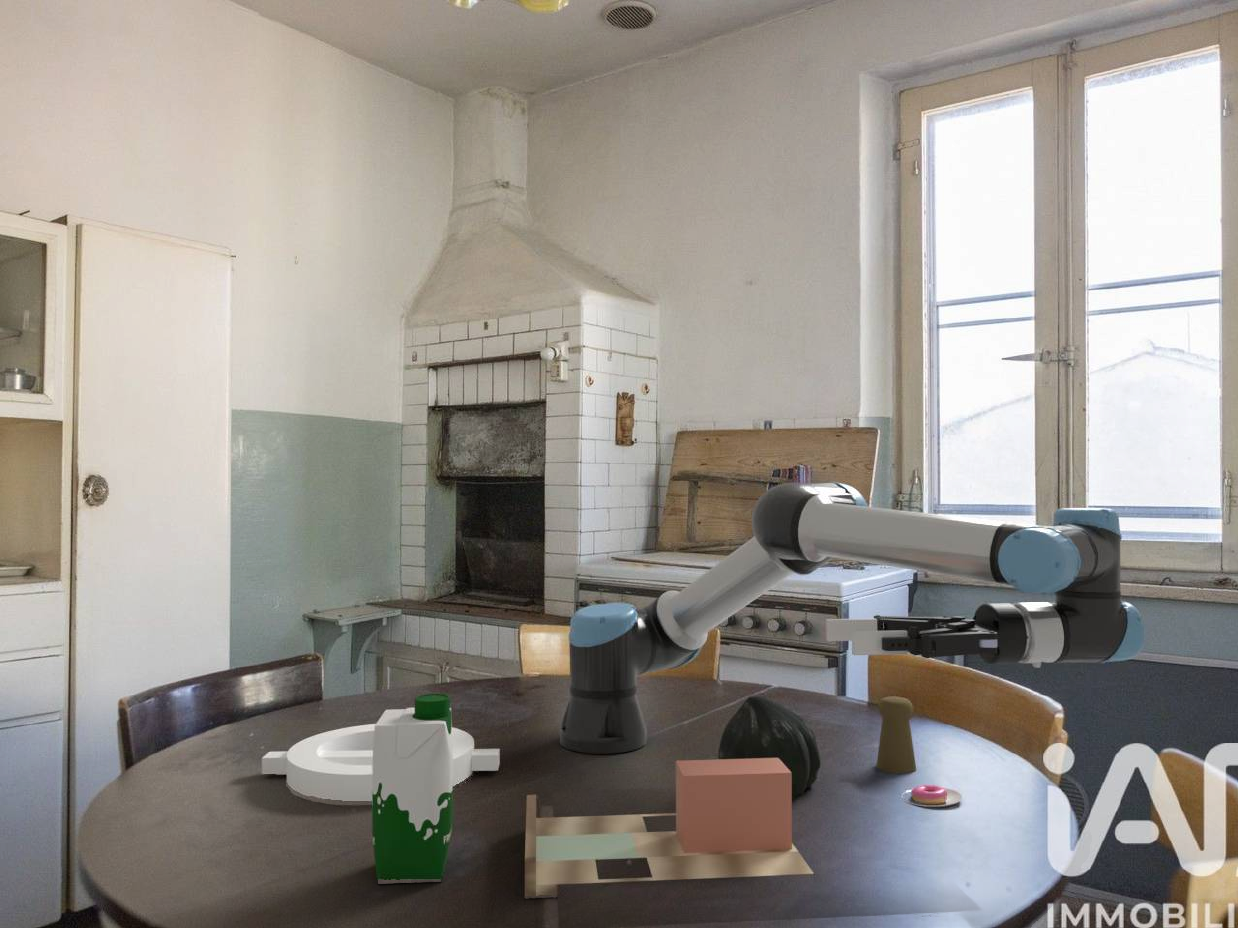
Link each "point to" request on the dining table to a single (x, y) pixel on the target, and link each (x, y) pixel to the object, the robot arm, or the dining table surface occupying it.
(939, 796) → the donut
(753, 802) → the brick
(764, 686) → the dining table surface
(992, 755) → the dining table surface
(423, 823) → the milk carton
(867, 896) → the dining table surface
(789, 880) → the dining table surface
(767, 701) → the squash
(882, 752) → the cork
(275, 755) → the ring with crossbar
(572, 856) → the pad
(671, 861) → the board
